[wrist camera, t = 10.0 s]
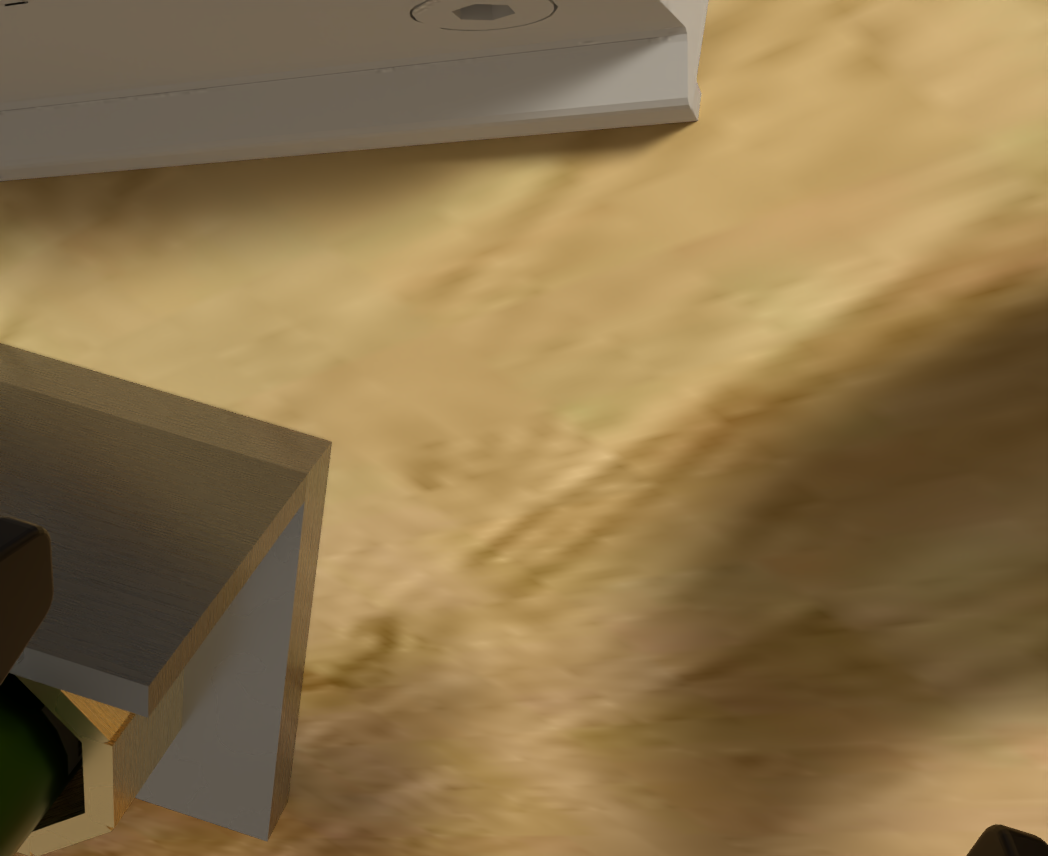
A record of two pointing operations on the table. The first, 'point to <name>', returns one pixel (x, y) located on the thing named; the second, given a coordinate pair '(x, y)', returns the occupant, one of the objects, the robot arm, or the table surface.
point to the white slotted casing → (327, 76)
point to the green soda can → (30, 762)
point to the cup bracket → (163, 593)
